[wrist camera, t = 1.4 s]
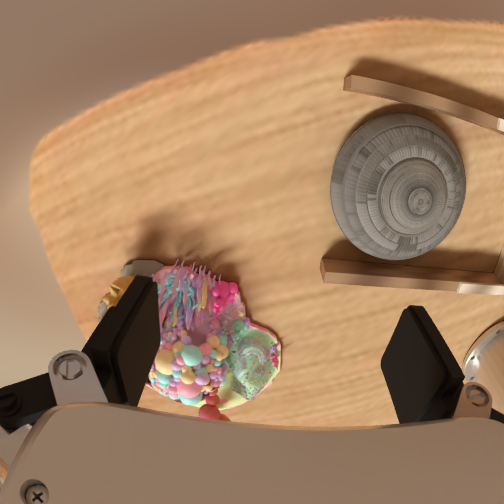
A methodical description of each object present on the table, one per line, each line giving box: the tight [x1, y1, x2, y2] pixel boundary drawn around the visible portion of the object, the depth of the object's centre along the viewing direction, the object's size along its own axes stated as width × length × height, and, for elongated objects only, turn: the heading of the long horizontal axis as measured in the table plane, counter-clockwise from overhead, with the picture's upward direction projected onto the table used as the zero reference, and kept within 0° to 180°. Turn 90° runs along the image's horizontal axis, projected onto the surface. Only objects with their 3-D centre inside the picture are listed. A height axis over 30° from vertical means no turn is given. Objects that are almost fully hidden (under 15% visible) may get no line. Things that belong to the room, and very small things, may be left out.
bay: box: [320, 75, 504, 295], centre depth 27 cm, size 25×19×4 cm
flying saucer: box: [330, 113, 466, 260], centre depth 27 cm, size 15×15×6 cm
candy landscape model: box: [98, 259, 281, 421], centre depth 35 cm, size 25×24×9 cm
